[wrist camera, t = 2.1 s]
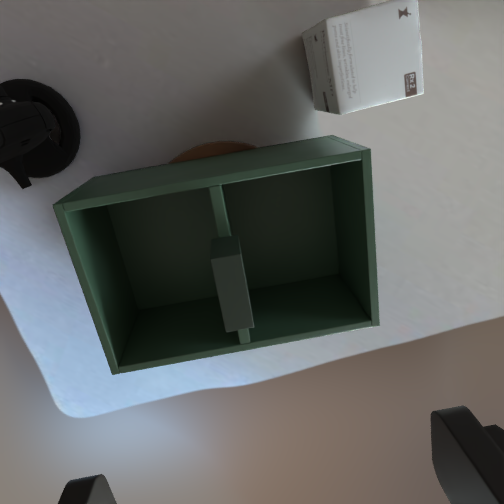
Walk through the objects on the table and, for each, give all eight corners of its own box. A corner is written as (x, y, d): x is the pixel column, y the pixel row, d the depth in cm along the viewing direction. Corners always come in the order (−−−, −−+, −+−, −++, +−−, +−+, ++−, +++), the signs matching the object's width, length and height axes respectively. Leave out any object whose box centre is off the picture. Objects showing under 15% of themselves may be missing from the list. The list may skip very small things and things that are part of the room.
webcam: (50, 62, 31) (-20, 48, 22) (100, 153, 34) (57, 176, 25) (-39, 103, 32) (-143, 107, 23) (18, 190, 35) (-55, 226, 25)
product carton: (299, 32, 32) (322, 16, 25) (375, 12, 32) (419, -10, 25) (314, 112, 34) (339, 117, 27) (385, 93, 34) (427, 93, 27)
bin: (134, 313, 38) (99, 409, 27) (92, 177, 34) (27, 221, 22) (344, 275, 39) (399, 354, 27) (332, 134, 34) (393, 156, 22)
